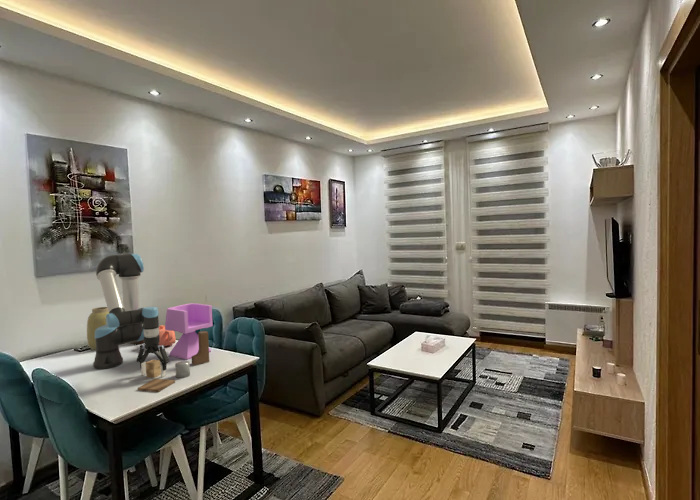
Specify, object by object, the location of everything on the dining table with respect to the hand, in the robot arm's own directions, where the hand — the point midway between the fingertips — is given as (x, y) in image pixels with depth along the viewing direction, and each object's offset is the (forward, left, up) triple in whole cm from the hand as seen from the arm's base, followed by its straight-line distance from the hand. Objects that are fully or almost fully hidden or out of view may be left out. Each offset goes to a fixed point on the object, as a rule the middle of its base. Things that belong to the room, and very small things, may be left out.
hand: (153, 375), depth 213 cm
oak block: (0, 0, 0) cm, 0 cm away
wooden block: (+13, +23, 0) cm, 26 cm away
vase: (-73, +38, 0) cm, 82 cm away
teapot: (-34, +48, -1) cm, 59 cm away
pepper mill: (-55, +55, -1) cm, 78 cm away
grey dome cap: (+16, +3, 0) cm, 16 cm away
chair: (-4, +37, 0) cm, 37 cm away
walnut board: (+12, -12, 0) cm, 17 cm away
